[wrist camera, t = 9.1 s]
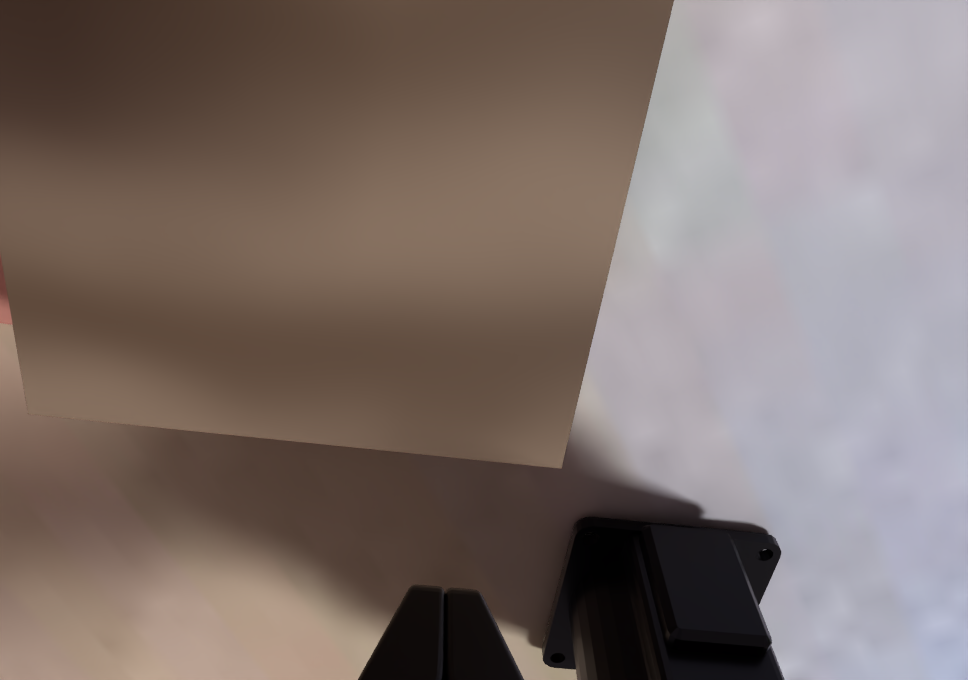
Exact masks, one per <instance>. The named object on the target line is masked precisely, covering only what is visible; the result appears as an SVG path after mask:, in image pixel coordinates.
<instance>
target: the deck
mask: <svg viewBox="0 0 968 680" xmlns="http://www.w3.org/2000/svg"><path fill="white" fill-rule="evenodd" d="M673 2H674V0H0V255H1V260H2V266H3V272H4V278H5V283H6V289H7V295H8V301H9V306H10V312H11V318H12V324H13V329H14V335H15V341H16V347H17V352H18V358H19V364H20V370H21V375H22V381H23V387H24V393H25V399H26V404H27V410H28V414H29V415H39V416H49V417H59V418H69V419H79V420H88V421H98V422H108V423H118V424H128V425H137V426H147V427H157V428H167V429H177V430H187V431H196V432H206V433H216V434H226V435H236V436H245V437H255V438H265V439H275V440H285V441H295V442H304V443H314V444H324V445H334V446H344V447H354V448H363V449H373V450H383V451H393V452H403V453H412V454H422V455H432V456H442V457H452V458H462V459H471V460H481V461H491V462H501V463H511V464H520V465H530V466H540V467H550V468H560V469H561V468H562V464H563V460H564V456H565V451H566V447H567V443H568V439H569V435H570V431H571V426H572V422H573V418H574V414H575V410H576V406H577V402H578V397H579V393H580V389H581V385H582V381H583V377H584V372H585V368H586V364H587V360H588V356H589V352H590V347H591V343H592V339H593V335H594V331H595V327H596V322H597V318H598V314H599V310H600V306H601V302H602V298H603V293H604V289H605V285H606V281H607V277H608V273H609V268H610V264H611V260H612V256H613V252H614V248H615V243H616V239H617V235H618V231H619V227H620V223H621V218H622V214H623V210H624V206H625V202H626V198H627V193H628V189H629V185H630V181H631V177H632V173H633V169H634V164H635V160H636V156H637V152H638V148H639V144H640V139H641V135H642V131H643V127H644V123H645V119H646V114H647V110H648V106H649V102H650V98H651V94H652V89H653V85H654V81H655V77H656V73H657V69H658V64H659V60H660V56H661V52H662V48H663V44H664V40H665V35H666V31H667V27H668V23H669V19H670V15H671V10H672V6H673Z"/></svg>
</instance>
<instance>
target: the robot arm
mask: <svg viewBox="0 0 968 680" xmlns="http://www.w3.org/2000/svg"><path fill="white" fill-rule="evenodd" d="M590 532H594V533H595V534H593V535H585V534H587V533H590ZM763 549H766V550H764V551H761V550H763ZM759 551H760V552H759ZM780 556H781V550H780V548H779V545H778V543H777V541H776V539H775V538H774V537H773V536H772V535H768V534H762V533H751V532H741V531H731V530H720V529H710V528H700V527H690V526H679V525H669V524H659V523H648V522H638V521H628V520H617V519H607V518H597V517H586V518H583V519H581V520H579V521H578V522H577V523H576V524H575V526H574V528H573V531H572V535H571V539H570V543H569V547H568V550H567V554H566V558H565V562H564V566H563V569H562V573H561V577H560V581H559V585H558V588H557V592H556V596H555V600H554V604H553V608H552V611H551V615H550V619H549V623H548V627H547V630H546V634H545V638H544V642H543V646H542V653H543V661H544V663H545V664H546V665H548V666H550V667H554V668H565V669H576V673H577V680H784V677H783V675H782V672H781V669H780V667H779V664H778V662H777V659H776V656H775V654H774V651H773V649H772V646H771V644H772V640H771V636H770V634H769V631H768V629H767V626H766V623H765V621H764V618H763V616H762V613H761V611H760V608H759V604H760V601H761V599H762V597H763V595H764V592H765V590H766V588H767V586H768V583H769V581H770V579H771V577H772V574H773V572H774V570H775V568H776V565H777V563H778V561H779V559H780ZM358 680H524V679H523V677H522V675H521V673H520V671H519V669H518V667H517V665H516V663H515V661H514V658H513V656H512V654H511V652H510V650H509V648H508V646H507V644H506V642H505V640H504V638H503V636H502V634H501V632H500V630H499V628H498V626H497V624H496V622H495V620H494V618H493V616H492V614H491V612H490V610H489V608H488V606H487V604H486V602H485V600H484V598H483V596H482V594H481V593H480V592H479V591H477V590H471V589H460V588H449V589H448V590H447V591H446V592H445V591H444V589H443V588H441V587H437V586H426V585H413V586H411V587H410V588H409V589H408V591H407V593H406V594H405V596H404V598H403V600H402V602H401V603H400V605H399V607H398V609H397V611H396V612H395V614H394V616H393V618H392V619H391V621H390V623H389V625H388V627H387V628H386V630H385V632H384V634H383V636H382V637H381V639H380V641H379V643H378V645H377V646H376V648H375V650H374V652H373V653H372V655H371V657H370V659H369V661H368V662H367V664H366V666H365V668H364V670H363V671H362V673H361V675H360V677H359V678H358Z"/></svg>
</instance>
